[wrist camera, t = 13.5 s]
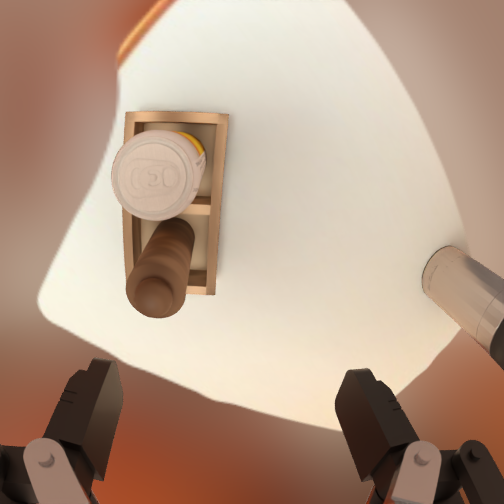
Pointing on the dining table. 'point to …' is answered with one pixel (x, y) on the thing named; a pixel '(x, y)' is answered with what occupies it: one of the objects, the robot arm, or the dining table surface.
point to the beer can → (158, 173)
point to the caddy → (176, 223)
